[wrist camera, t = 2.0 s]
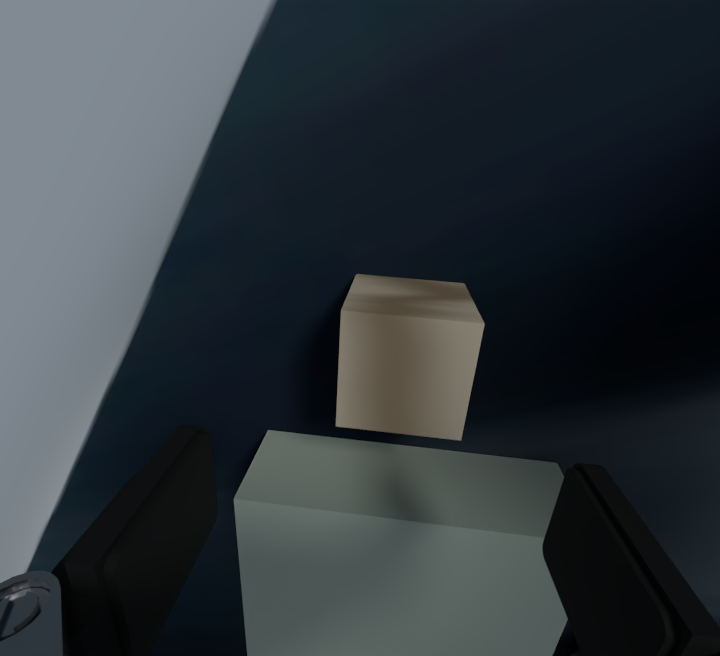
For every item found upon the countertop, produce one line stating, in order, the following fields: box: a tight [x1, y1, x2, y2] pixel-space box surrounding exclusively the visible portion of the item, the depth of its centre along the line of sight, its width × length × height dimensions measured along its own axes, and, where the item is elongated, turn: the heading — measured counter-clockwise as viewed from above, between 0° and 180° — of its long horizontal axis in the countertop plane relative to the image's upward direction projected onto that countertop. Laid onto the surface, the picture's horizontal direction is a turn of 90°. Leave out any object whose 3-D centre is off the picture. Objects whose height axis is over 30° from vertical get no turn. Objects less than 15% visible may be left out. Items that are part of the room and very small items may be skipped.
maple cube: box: [336, 274, 485, 441], centre depth 17 cm, size 5×5×5 cm
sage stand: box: [234, 430, 568, 656], centre depth 22 cm, size 16×14×5 cm
